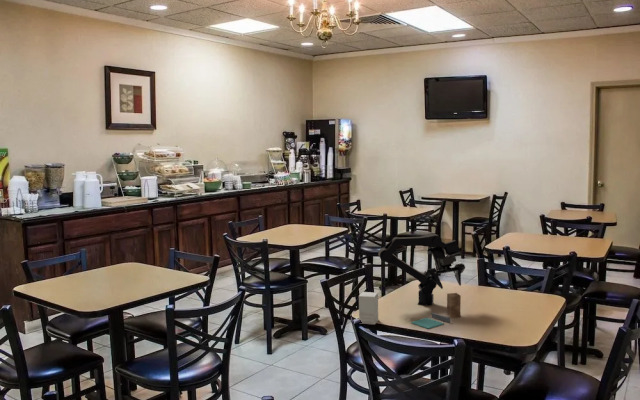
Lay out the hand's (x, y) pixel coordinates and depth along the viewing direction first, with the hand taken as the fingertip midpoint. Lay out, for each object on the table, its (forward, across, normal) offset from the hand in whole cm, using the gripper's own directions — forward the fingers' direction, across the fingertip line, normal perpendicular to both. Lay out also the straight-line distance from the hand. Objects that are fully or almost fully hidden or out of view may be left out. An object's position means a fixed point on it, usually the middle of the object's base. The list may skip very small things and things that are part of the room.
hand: (451, 286), depth 254 cm
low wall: (+15, -12, -2) cm, 19 cm away
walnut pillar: (+14, -4, +1) cm, 14 cm away
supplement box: (+10, -44, 0) cm, 45 cm away
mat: (+17, -20, -5) cm, 27 cm away
